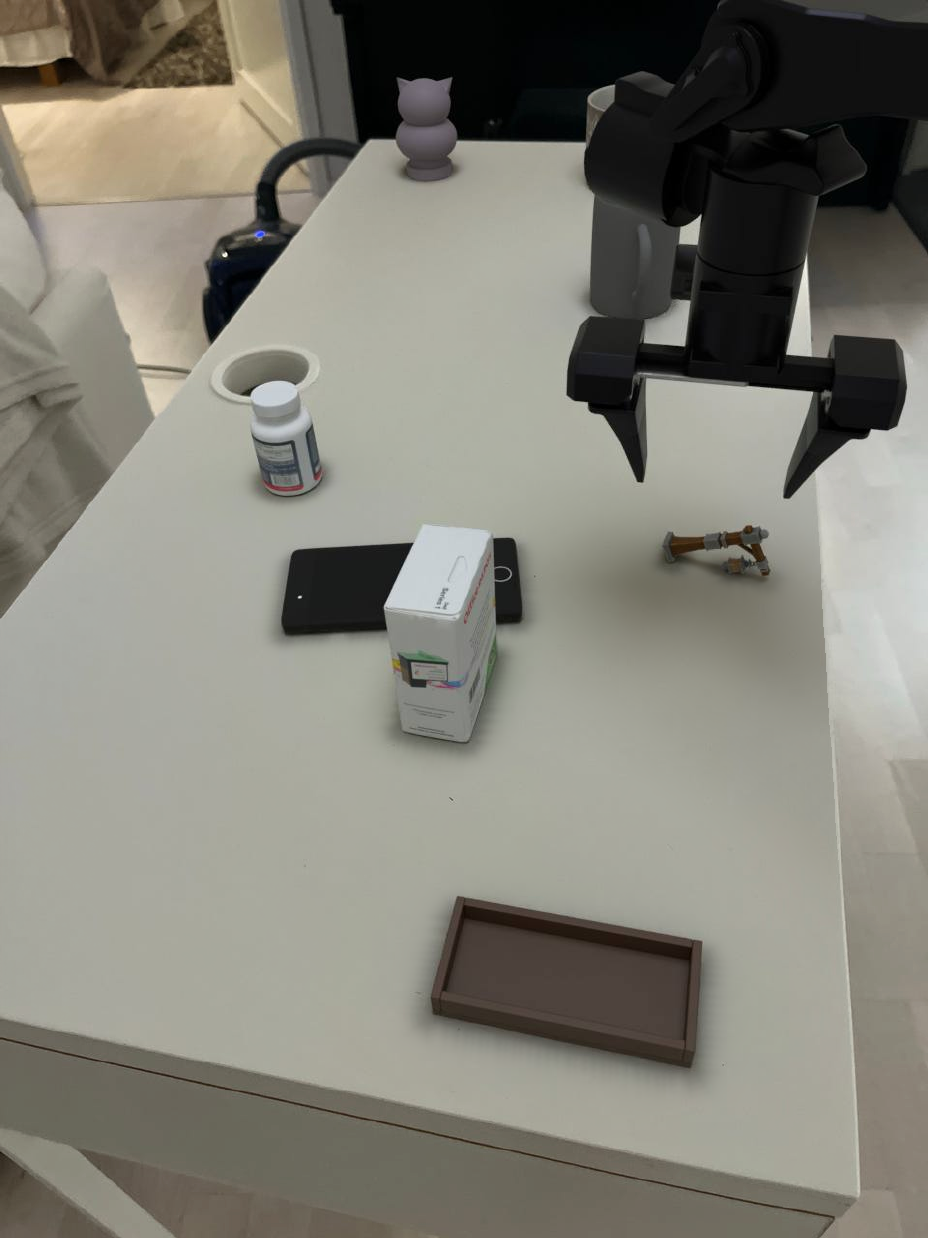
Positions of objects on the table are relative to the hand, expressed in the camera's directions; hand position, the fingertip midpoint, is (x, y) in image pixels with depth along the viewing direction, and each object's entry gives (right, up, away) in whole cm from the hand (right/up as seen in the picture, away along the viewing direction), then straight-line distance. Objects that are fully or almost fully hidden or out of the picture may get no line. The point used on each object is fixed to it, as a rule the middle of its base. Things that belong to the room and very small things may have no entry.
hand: (712, 486), depth 64 cm
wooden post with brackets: (+3, -4, +13) cm, 14 cm away
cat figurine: (-21, +54, +75) cm, 95 cm away
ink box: (-17, -14, +5) cm, 23 cm away
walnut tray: (-10, -28, -11) cm, 32 cm away
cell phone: (-21, -6, +13) cm, 25 cm away
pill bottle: (-31, +4, +24) cm, 40 cm away
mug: (+2, +25, +43) cm, 50 cm away
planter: (+7, +50, +69) cm, 86 cm away
